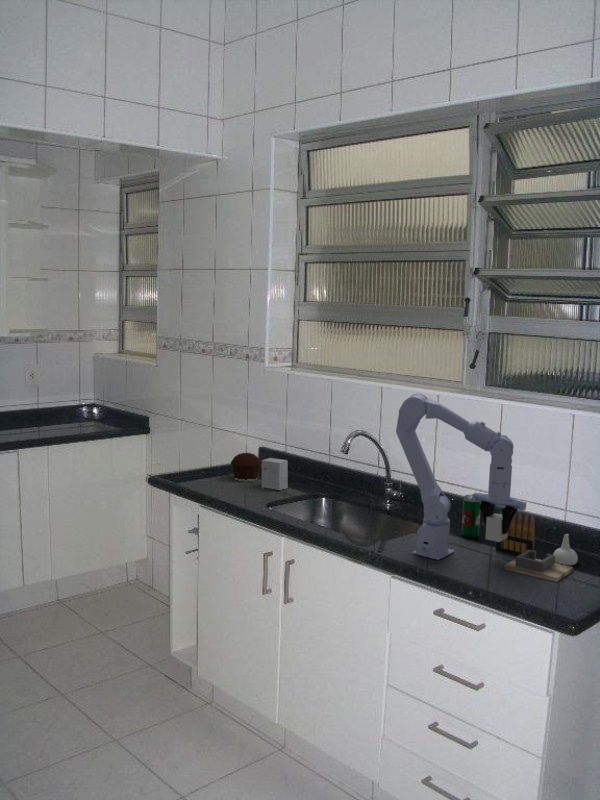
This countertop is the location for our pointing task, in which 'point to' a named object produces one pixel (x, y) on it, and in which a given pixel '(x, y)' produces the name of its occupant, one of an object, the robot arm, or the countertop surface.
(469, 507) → the soda can
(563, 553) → the garlic bulb
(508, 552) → the ammunition clip
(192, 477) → the countertop surface
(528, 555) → the socket
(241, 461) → the muffin
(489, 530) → the plug
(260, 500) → the countertop surface
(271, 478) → the small box
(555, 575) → the board
